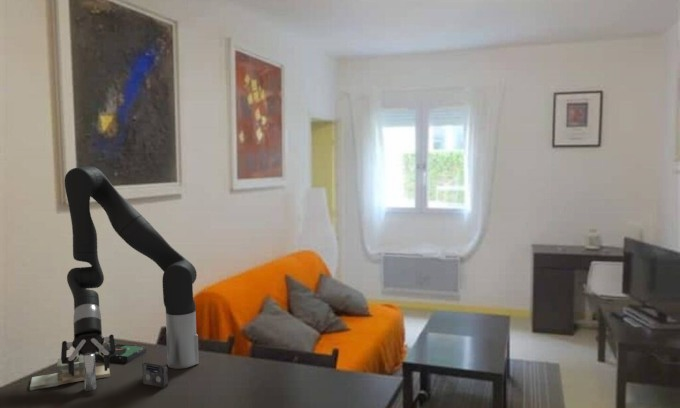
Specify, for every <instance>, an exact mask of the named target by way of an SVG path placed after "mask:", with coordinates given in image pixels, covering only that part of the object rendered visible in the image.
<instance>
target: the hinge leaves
mask: <svg viewBox="0 0 680 408" xmlns="http://www.w3.org/2000/svg"><path fill="white" fill-rule="evenodd" d="M95 368H96V380H98V379H104V378H109V377H111V372H110V367H109V368H108V369H107V371H105V368H104V364H103V365H97V366H95ZM56 369H57V371H56V372H55V373H50V374H43V375H37V376H32V377H31V381H30V385H29V390H30V391H34V390H41V389H45V388H52V387H57V386H60V385H65V384H70V383H78V382H83V381H84V360H83V355H82V354H81V355H80V356H79V357H78V359H76V360H75V362H74V376H71V375H69V371H68V364H67V363H65V364H62V362H61V358H58V359H57V364H56Z"/></svg>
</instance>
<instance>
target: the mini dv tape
mask: <svg viewBox="0 0 680 408" xmlns="http://www.w3.org/2000/svg"><path fill="white" fill-rule="evenodd" d="M141 366H142V384H144V385H149V386H154V387H158V388H162V389H165V388H166V387H168V386H169V383H168V382H169V380H168V379H169V377H168V375H169V374H168V373H169V372H168V366H165V365H161V364H154V363H150V362H142V365H141Z"/></svg>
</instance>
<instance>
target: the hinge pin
mask: <svg viewBox="0 0 680 408" xmlns="http://www.w3.org/2000/svg"><path fill="white" fill-rule="evenodd" d="M83 360H84V380H83V381H84V391H85V392H91V391H94V390H96V389H97V379H96V368H95V367H96V360H95V353H87V354H84V355H83Z"/></svg>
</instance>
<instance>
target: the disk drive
mask: <svg viewBox="0 0 680 408" xmlns="http://www.w3.org/2000/svg"><path fill="white" fill-rule="evenodd" d="M103 347H104V348H105V349H106V350H107V351H108V352H109V351H111V350H110V344H106V345H104V346H103ZM115 349H116V352H115V353H116V354H115V356H111V357H110V358H109V361H110V363H111V362H113V363H123V364H129V363H130V362H132V361H134V360H136V359H138V358H139V357H140V356H143V355H145V354H146V353H147V348H146V347H145V346H141V345H129V344H118V343H117V344H116V343H115ZM95 361H101V362H102V361H103V362H104V357H103V356H102V355H100V354H98V353H97V352H95Z"/></svg>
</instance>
